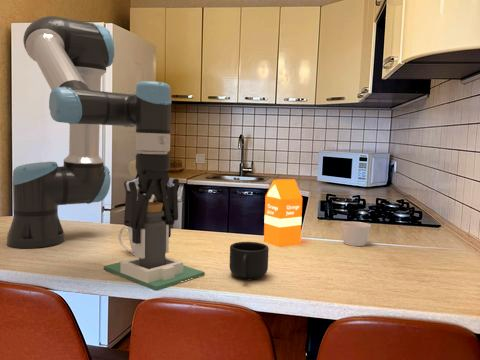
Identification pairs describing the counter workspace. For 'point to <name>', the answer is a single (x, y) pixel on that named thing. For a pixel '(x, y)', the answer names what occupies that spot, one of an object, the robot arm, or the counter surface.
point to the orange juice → (283, 213)
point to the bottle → (154, 237)
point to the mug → (249, 259)
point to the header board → (154, 273)
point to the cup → (129, 238)
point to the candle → (355, 233)
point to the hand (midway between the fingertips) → (151, 254)
